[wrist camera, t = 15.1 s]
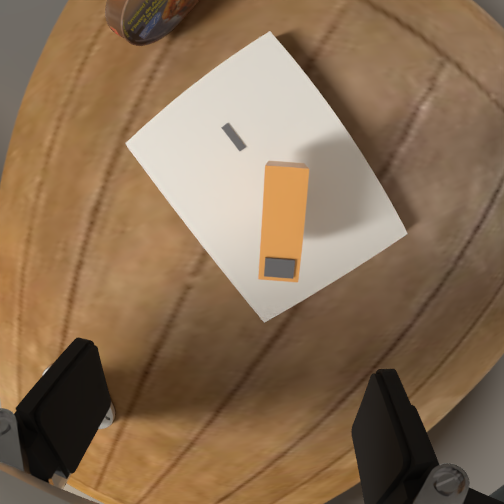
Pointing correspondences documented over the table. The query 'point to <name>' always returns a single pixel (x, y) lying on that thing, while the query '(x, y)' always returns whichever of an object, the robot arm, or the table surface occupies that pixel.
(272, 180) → the orange block on post
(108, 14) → the tin
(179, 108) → the base plate
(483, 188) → the table surface
